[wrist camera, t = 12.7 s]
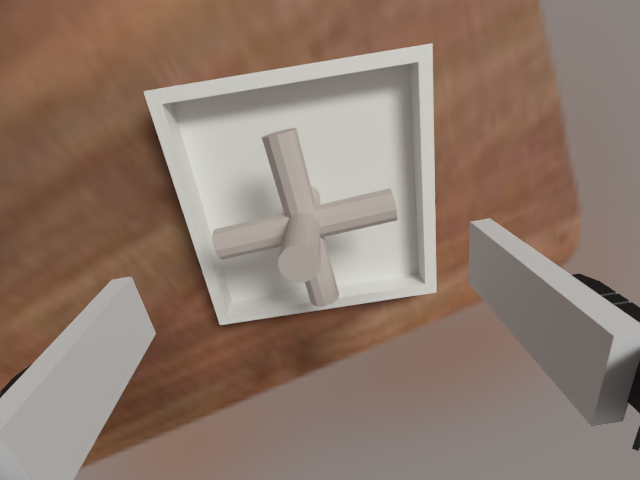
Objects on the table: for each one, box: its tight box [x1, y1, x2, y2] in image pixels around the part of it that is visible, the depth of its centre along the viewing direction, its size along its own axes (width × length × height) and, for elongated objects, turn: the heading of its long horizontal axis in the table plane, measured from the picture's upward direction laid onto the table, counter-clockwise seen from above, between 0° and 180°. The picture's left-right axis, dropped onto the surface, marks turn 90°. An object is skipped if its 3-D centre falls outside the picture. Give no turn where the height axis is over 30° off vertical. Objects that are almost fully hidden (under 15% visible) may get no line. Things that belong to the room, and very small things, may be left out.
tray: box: [143, 44, 437, 325], centre depth 24 cm, size 16×16×2 cm
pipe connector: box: [212, 128, 397, 307], centre depth 20 cm, size 10×10×10 cm
